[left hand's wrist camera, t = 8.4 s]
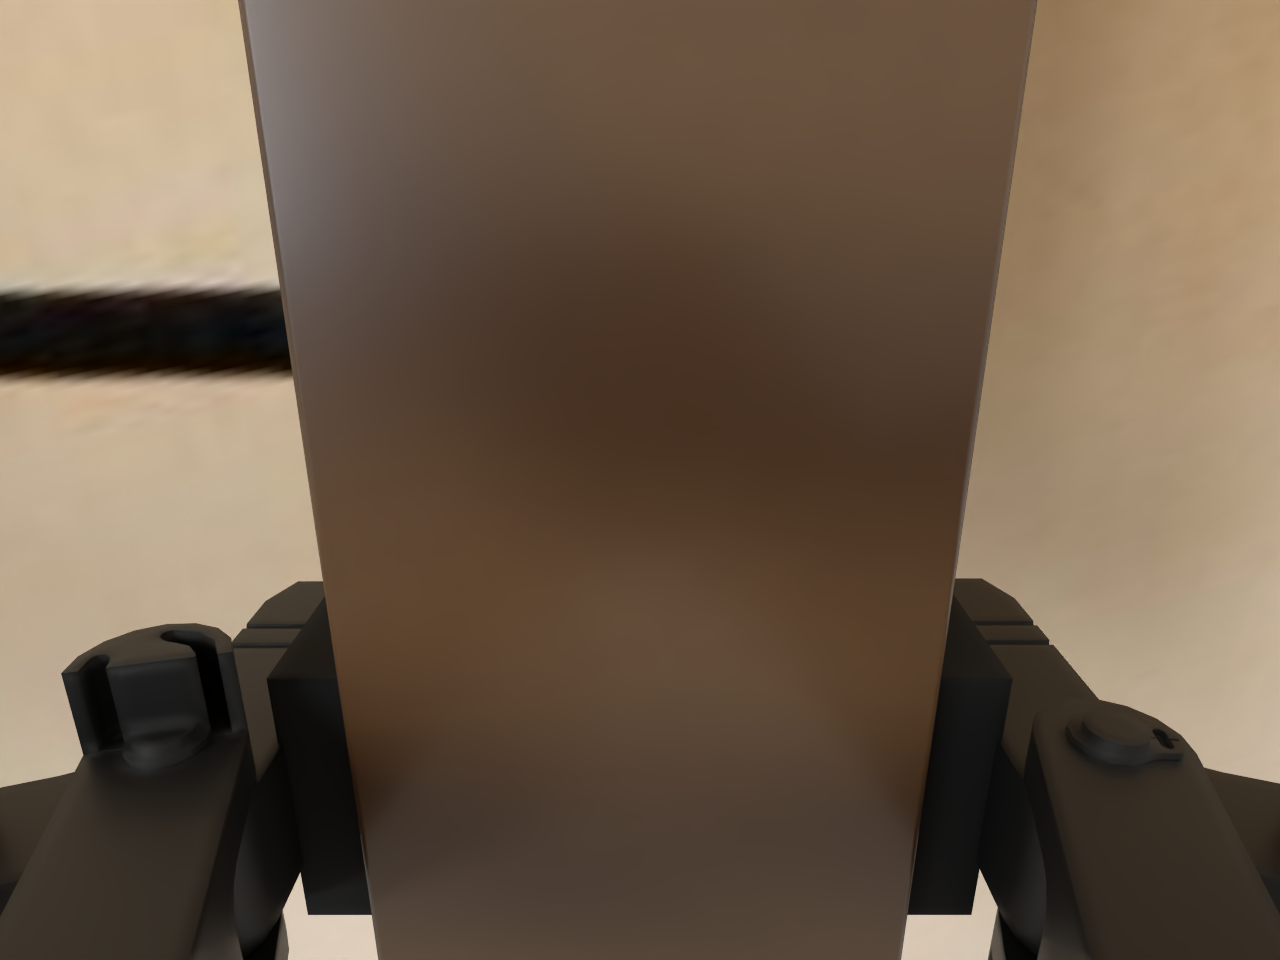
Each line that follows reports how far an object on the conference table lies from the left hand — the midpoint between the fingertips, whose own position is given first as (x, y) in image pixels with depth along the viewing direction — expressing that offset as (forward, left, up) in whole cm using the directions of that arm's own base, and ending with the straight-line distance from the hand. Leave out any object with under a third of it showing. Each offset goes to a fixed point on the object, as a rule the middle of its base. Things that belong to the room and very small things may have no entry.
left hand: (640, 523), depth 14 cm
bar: (+17, +12, -1) cm, 21 cm away
